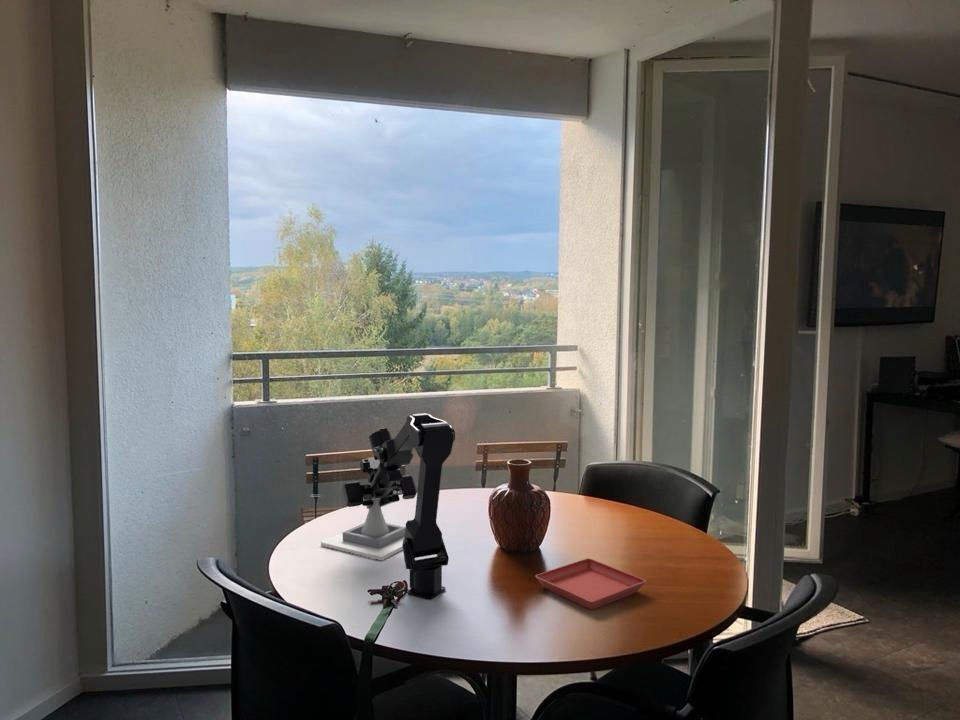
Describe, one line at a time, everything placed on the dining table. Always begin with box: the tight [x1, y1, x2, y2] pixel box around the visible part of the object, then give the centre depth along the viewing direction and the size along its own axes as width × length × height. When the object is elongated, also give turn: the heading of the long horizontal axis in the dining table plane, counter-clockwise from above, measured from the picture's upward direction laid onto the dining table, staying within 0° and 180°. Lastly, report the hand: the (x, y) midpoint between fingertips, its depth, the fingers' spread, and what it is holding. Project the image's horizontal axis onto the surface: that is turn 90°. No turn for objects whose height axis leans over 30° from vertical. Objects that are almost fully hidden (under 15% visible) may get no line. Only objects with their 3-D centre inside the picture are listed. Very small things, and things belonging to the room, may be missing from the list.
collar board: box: [320, 522, 406, 561], centre depth 193 cm, size 20×20×3 cm
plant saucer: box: [534, 557, 647, 610], centre depth 163 cm, size 18×18×3 cm
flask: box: [361, 497, 390, 538], centre depth 193 cm, size 7×7×10 cm
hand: (373, 506), depth 194 cm, fingers open, 3 cm apart
